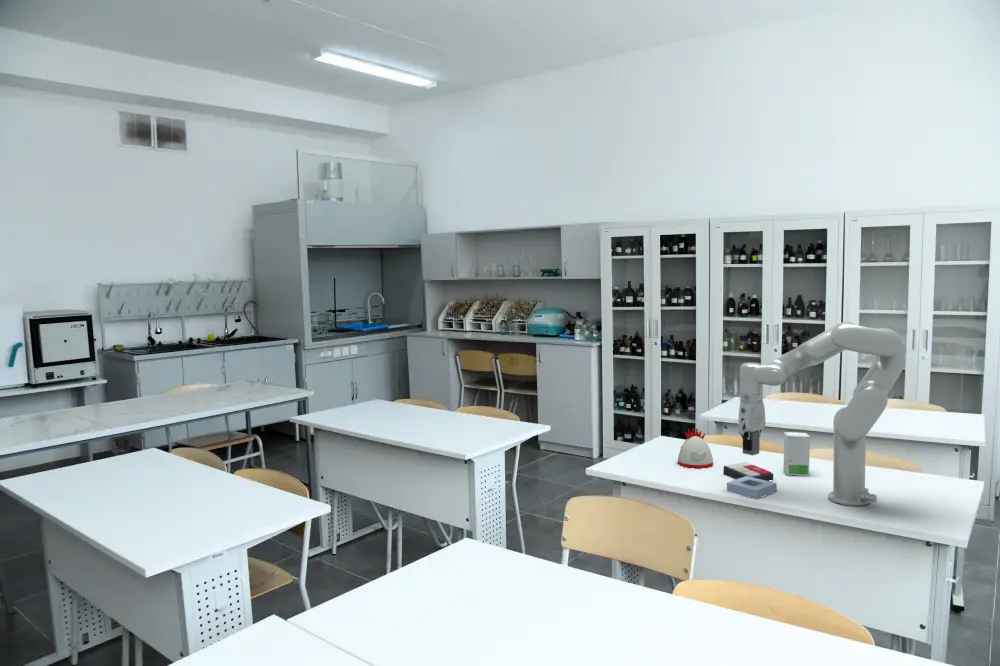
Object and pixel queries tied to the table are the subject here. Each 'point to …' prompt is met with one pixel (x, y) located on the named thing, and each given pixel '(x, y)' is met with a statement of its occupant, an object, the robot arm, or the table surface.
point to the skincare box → (796, 453)
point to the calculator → (747, 471)
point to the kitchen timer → (695, 452)
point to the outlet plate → (751, 487)
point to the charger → (753, 444)
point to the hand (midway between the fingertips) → (751, 448)
